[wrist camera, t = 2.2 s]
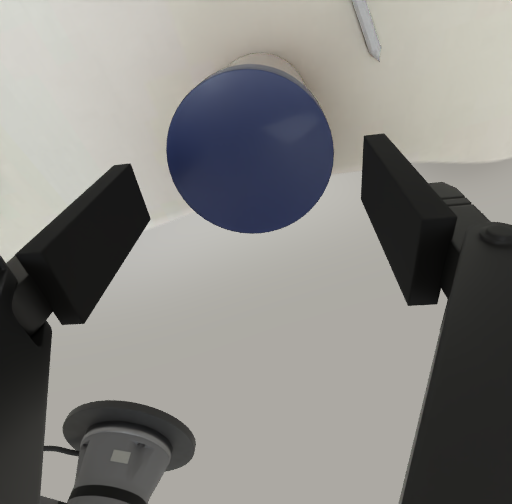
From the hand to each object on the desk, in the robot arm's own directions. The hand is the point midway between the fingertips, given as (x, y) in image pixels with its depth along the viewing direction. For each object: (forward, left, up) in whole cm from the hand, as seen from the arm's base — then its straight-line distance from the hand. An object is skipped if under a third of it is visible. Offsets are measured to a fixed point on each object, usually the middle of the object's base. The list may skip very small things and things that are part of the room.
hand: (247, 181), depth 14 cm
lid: (0, 0, -3) cm, 3 cm away
